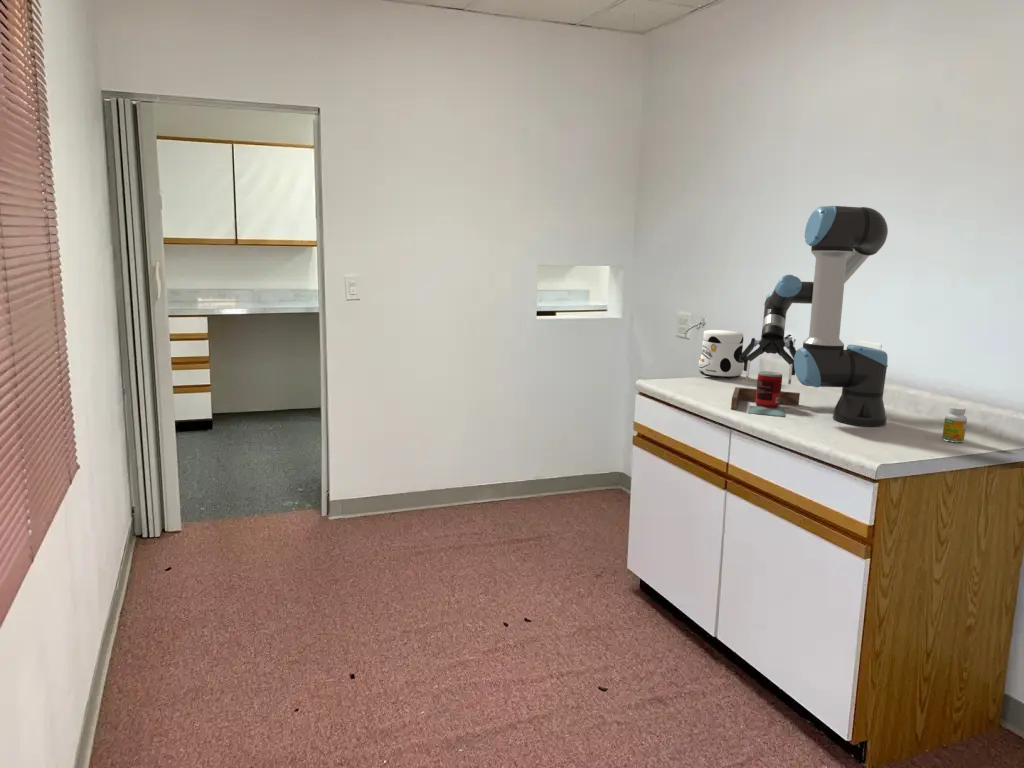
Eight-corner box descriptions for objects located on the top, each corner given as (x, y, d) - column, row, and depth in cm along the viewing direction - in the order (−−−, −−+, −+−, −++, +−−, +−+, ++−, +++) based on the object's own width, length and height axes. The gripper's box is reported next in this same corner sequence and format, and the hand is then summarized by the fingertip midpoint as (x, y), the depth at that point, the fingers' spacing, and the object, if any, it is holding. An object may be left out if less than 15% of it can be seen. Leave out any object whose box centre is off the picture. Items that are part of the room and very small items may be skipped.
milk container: (689, 375, 307) (692, 331, 303) (713, 371, 318) (717, 328, 315) (726, 382, 294) (730, 336, 291) (750, 378, 306) (754, 333, 302)
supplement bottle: (939, 440, 217) (944, 407, 215) (945, 437, 220) (950, 404, 218) (960, 444, 213) (965, 410, 211) (966, 441, 216) (971, 408, 215)
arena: (798, 404, 259) (799, 392, 258) (799, 418, 238) (801, 406, 237) (734, 398, 265) (735, 386, 264) (730, 411, 244) (731, 399, 244)
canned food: (776, 404, 258) (779, 372, 256) (781, 408, 250) (785, 375, 248) (752, 402, 259) (755, 370, 257) (758, 407, 251) (761, 373, 249)
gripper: (810, 340, 266) (806, 390, 255) (736, 334, 274) (729, 382, 263) (812, 326, 260) (808, 377, 249) (736, 321, 268) (729, 370, 257)
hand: (768, 380), depth 256 cm, fingers open, 13 cm apart
